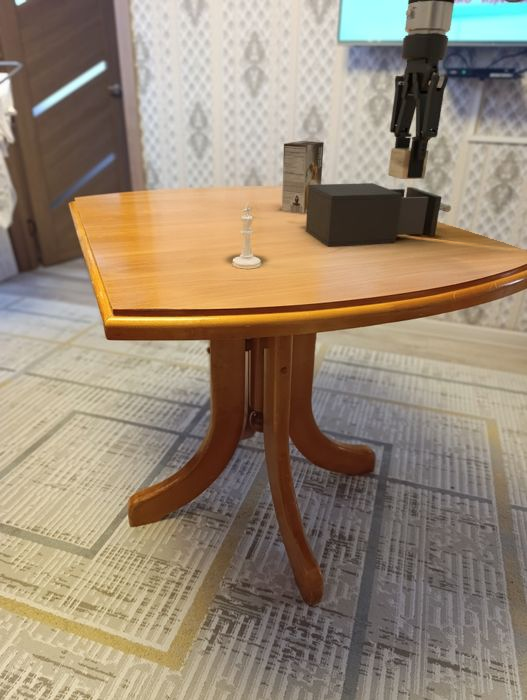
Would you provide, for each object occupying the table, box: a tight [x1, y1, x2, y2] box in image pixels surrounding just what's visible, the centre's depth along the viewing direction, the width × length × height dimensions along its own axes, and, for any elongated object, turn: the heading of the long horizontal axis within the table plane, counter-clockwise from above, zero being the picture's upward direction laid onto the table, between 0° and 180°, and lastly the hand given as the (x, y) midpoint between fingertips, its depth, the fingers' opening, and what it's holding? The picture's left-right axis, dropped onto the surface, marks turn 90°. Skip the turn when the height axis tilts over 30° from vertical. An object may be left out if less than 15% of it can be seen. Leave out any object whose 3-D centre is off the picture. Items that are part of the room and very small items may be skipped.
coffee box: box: [281, 140, 325, 214], centre depth 123 cm, size 9×6×16 cm
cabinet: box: [305, 182, 402, 248], centre depth 103 cm, size 15×13×10 cm
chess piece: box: [231, 204, 262, 270], centre depth 85 cm, size 5×5×10 cm
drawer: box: [389, 186, 452, 237], centre depth 106 cm, size 18×11×8 cm, turn 106°
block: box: [387, 147, 430, 180], centre depth 97 cm, size 5×5×5 cm
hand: (406, 175), depth 98 cm, fingers closed on block, 5 cm apart
